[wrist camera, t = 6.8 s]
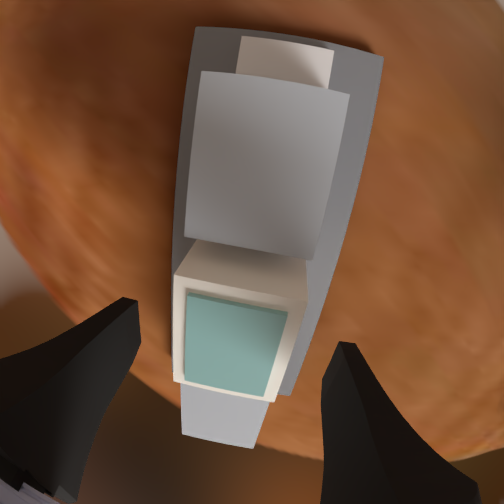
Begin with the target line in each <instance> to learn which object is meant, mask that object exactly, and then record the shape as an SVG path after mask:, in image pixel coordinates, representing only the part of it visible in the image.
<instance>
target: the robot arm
mask: <svg viewBox="0 0 504 504" xmlns="http://www.w3.org/2000/svg"><path fill="white" fill-rule="evenodd" d="M140 344H141V334H140V323H139V311H138V301H137V300H133V299H129V298H125V297H122V298H120V299H119V300H117V301H115V302H114V303H112V304H110V305H109V306H107V307H106V308H104V309H103V310H101V311H99V312H98V313H96V314H95V315H93V316H91V317H90V318H88V319H87V320H85V321H83V322H82V323H80V324H78V325H77V326H75V327H73V328H71V329H70V330H68V331H66V332H64V333H62V334H61V335H59V336H57V337H55V338H53V339H51V340H49V341H47V342H45V343H42V344H40V345H38V346H36V347H33V348H31V349H28V350H25V351H23V352H20V353H17V354H14V355H11V356H8V357H5V358H2V359H0V504H60V503H58V502H56V501H55V500H53V499H51V498H49V497H48V496H46V495H44V493H46V494H48V495H50V496H51V497H54V496H55V497H57V498H59V499H60V500H62V501H64V502H66V503H68V504H70V503H74V502H76V501H77V497H78V493H79V488H80V484H81V480H82V476H83V472H84V468H85V465H86V462H87V458H88V455H89V452H90V449H91V446H92V444H93V441H94V438H95V435H96V432H97V430H98V428H99V425H100V423H101V420H102V418H103V415H104V413H105V411H106V409H107V407H108V406H109V404H110V402H111V400H112V398H113V397H114V395H115V393H116V392H117V389H118V388H119V386H120V385H121V383H122V381H123V379H124V378H125V376H126V374H127V372H128V371H129V369H130V367H131V365H132V363H133V361H134V359H135V356H136V354H137V351H138V349H139V346H140ZM321 414H322V430H323V446H324V472H323V483H322V493H321V501H320V504H482V502H481V497H480V493H479V488H478V485H477V483H476V482H475V481H474V480H472V479H471V478H469V477H468V476H466V475H465V474H463V473H462V472H460V471H459V470H457V469H456V468H455V467H453V466H452V465H451V464H450V463H448V462H447V461H446V460H445V459H443V458H442V457H441V456H440V455H439V454H438V453H436V452H435V451H434V450H433V449H432V448H431V447H430V446H429V445H428V444H427V443H426V442H425V441H424V440H423V439H422V438H421V437H420V436H419V435H418V434H417V433H416V432H415V430H414V429H413V428H412V427H411V426H410V425H409V423H408V422H407V421H406V420H405V419H404V417H403V416H402V415H401V414H400V412H399V411H398V410H397V408H396V407H395V405H394V404H393V403H392V401H391V400H390V399H389V397H388V396H387V394H386V393H385V391H384V390H383V388H382V387H381V385H380V383H379V382H378V380H377V379H376V377H375V375H374V374H373V372H372V370H371V369H370V367H369V365H368V364H367V362H366V360H365V359H364V357H363V355H362V354H361V352H360V350H359V349H358V347H357V345H356V344H355V343H349V342H341V341H339V343H338V345H337V347H336V350H335V352H334V354H333V356H332V359H331V361H330V363H329V365H328V368H327V370H326V372H325V374H324V376H323V378H322V391H321Z"/></svg>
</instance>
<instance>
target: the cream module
mask: <svg viewBox="0 0 504 504" xmlns="http://www.w3.org/2000/svg"><path fill="white" fill-rule="evenodd" d="M307 304H308V287H307V271H306V259H301V258H296V257H290V256H285V255H280V254H274V253H269V252H264V251H258V250H253V249H248V248H242V247H237V246H232V245H226V244H221V243H216V242H210V241H205V240H200V239H197V240H196V241H195V243H194V244H193V246H192V247H191V249H190V250H189V252H188V253H187V255H186V257H185V258H184V260H183V261H182V263H181V264H180V266H179V267H178V269H177V270H176V272H175V273H174V283H173V377H174V381H175V382H178V383H182V384H186V385H190V386H194V387H199V388H203V389H207V390H211V391H216V392H221V393H225V394H230V395H235V396H240V397H246V398H251V399H257V400H263V401H269V402H274V401H275V399H276V396H277V393H278V390H279V388H280V385H281V382H282V379H283V377H284V374H285V371H286V368H287V365H288V362H289V359H290V356H291V353H292V350H293V347H294V344H295V341H296V338H297V335H298V332H299V329H300V326H301V323H302V320H303V317H304V314H305V310H306V307H307Z"/></svg>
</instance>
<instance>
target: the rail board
mask: <svg viewBox="0 0 504 504" xmlns="http://www.w3.org/2000/svg"><path fill="white" fill-rule="evenodd" d="M383 61H384V57H382V56H379V55H375V54H372V53H369V52H365V51H361V50H358V49H354V48H350V47H346V46H342V45H338V44H334V43H329V42H325V41H320V40H315V39H310V38H305V37H299V36H294V35H287V34H281V33H274V32H266V31H258V30H248V29H237V28H222V27H195V33H194V39H193V44H192V50H191V57H190V63H189V70H188V76H187V83H186V91H185V98H184V106H183V115H182V123H181V132H180V142H179V152H178V163H177V175H176V188H175V203H174V220H173V241H172V273H171V349H172V372H173V283H174V273H175V272H176V270H177V269H178V267H179V266H180V264H181V263H182V261H183V260H184V258H185V257H186V255H187V253H188V252H189V250H190V249H191V247H192V246H193V244H194V243H195V241H196V240H197V239H200V240H205V241H210V242H216V243H221V244H226V245H232V246H237V247H242V248H248V249H253V250H258V251H264V252H269V253H274V254H280V255H285V256H290V257H296V258H301V259H306V271H307V287H308V304H307V307H306V310H305V314H304V317H303V320H302V323H301V326H300V329H299V332H298V335H297V338H296V341H295V344H294V347H293V350H292V353H291V356H290V359H289V362H288V365H287V368H286V371H285V374H284V377H283V379H282V382H281V385H280V388H279V390H278V393H277V394H281V395H288V396H290V394H291V392H292V389H293V387H294V384H295V382H296V379H297V377H298V374H299V371H300V369H301V366H302V364H303V361H304V358H305V356H306V353H307V350H308V347H309V345H310V342H311V339H312V336H313V333H314V331H315V328H316V325H317V322H318V319H319V316H320V313H321V310H322V307H323V304H324V301H325V298H326V295H327V292H328V289H329V286H330V283H331V280H332V277H333V273H334V270H335V267H336V264H337V260H338V257H339V254H340V250H341V247H342V243H343V240H344V237H345V233H346V229H347V226H348V222H349V219H350V215H351V211H352V207H353V204H354V200H355V196H356V192H357V188H358V184H359V180H360V176H361V172H362V168H363V163H364V159H365V155H366V150H367V146H368V141H369V137H370V132H371V127H372V122H373V117H374V112H375V107H376V102H377V96H378V91H379V85H380V80H381V74H382V67H383ZM268 405H269V401H263V400H257V399H251V398H246V397H240V396H235V395H230V394H225V393H221V392H216V391H211V390H207V389H203V388H199V387H194V386H190V385H186V384H182V383H181V417H182V434H185V435H189V436H193V437H197V438H201V439H206V440H210V441H215V442H220V443H225V444H229V445H235V446H241V447H246V448H253V447H254V445H255V442H256V439H257V436H258V434H259V431H260V428H261V425H262V422H263V420H264V417H265V414H266V411H267V408H268Z"/></svg>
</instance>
